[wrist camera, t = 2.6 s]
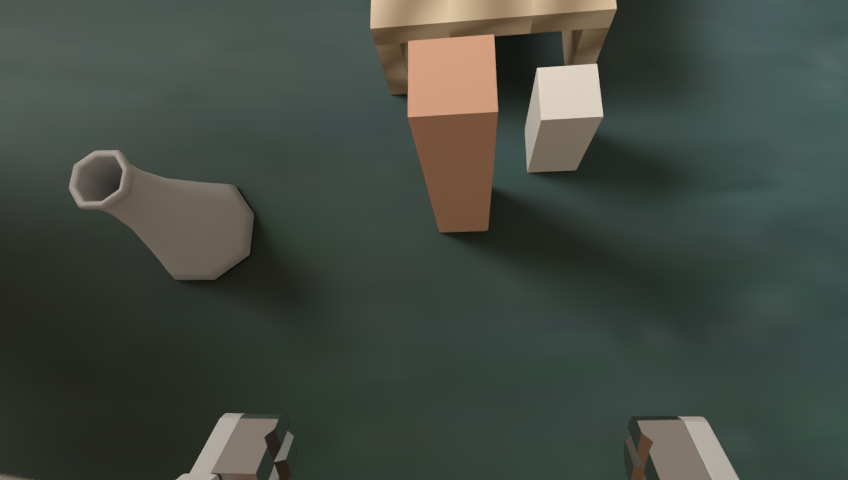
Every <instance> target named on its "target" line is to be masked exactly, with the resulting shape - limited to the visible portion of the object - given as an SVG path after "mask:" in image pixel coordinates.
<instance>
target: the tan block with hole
mask: <svg viewBox="0 0 848 480" xmlns="http://www.w3.org/2000/svg"><path fill="white" fill-rule="evenodd" d="M616 10H617V5H616V0H371V27H370V29H371V32H372V35H373V38H374V41H375V45H376V48H377V51H378V54H379V57H380V61H381V64H382V67H383V70H384V73H385V76H386V80H387V83H388V86H389V89H390V92H391V95H398V94H408V41H414V40H427V39H440V38H453V37H466V36H479V35H491V34H494V36H505V35H518V34H530V33H543V32H556V31H561V32H562V43H563V53H564V64H565V66H571V65H586V64H596V61H597V59H598V56H599V53H600V51H601V48H602V46H603V43H604V41H605V38H606V36H607V33H608V30H609V28H610V25H611V23H612V20H613V18H614V15H615V13H616Z"/></svg>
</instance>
